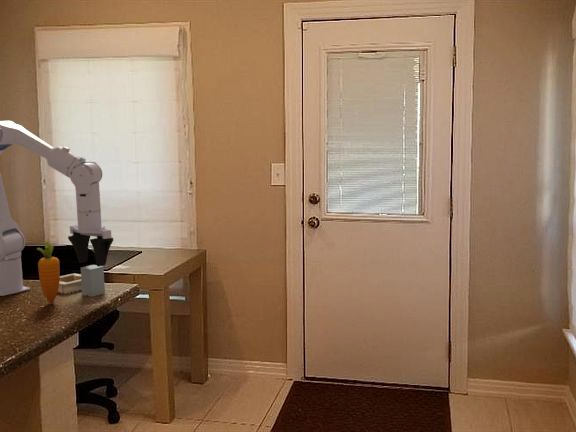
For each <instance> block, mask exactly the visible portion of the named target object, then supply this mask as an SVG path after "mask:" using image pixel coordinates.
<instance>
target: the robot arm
mask: <svg viewBox="0 0 576 432" xmlns="http://www.w3.org/2000/svg"><path fill="white" fill-rule="evenodd" d="M13 145H19V146H21V147H23V148H25V149H27V150H29V151H30V152H32V153H35V154H36V155H39V156H40V157H43V158H44V159H46V162H47V165H48V167H50V168H52V169H54V170H55V171H57V172H58V173H61V174H62V175H64V176H65V177H67V178H69V179H70V181H71V183H72V184H73V185H74V187H75V200H76V217H77V224H75V225H74V224H73V225H70V226H69V233H70V234H72V235H69V236H68V237H67V238H68V240H69V242H70V243H71V245H72V247H73V249H74V252H75V255H76V257H77V261H78V263H80V264H82V263H86V262H88V258H89V244H91V246H92V249H93V253H94V256H95V263H96V264H95V265H97V266H103V267H104V266H106V265H107V259H108V255H109V254H108V253H109V251H110V248H111V246H112V244H113V242H114V237H112V230H111V229H108V228H106V226H104V225H102V213H101V212H102V211H101V209H102V207H101V192H100V182H101V181H102V179H103V170H102V168H101V167H100V165H99V164H97V163H96V162H95V161H87V159H86V158H85V157H83V156H81V157H80V156H78V155H77V154H75V153H73V152H71V150H70V148H69V147H68V146H63V147H62V146H56V147H53V146H52V145H50V144H49V143H48V142H45V141H44V140H43V139H41V138H39V137H38V136H37V135H35V134H33V133H32V132H31V131H29V130H27V129H26V128H25V127H24V126H23V125H21V124H17V123H15V122H14V121H12V120H9V119H8V120H7V119H5V120H0V156H1V155H2V154H3V153H4V151H5V150H7V149H9V148H10V147H11V146H13ZM91 237H95V238H91ZM90 238H91V239H90ZM25 245H26V238H25V236H24V234H23V233H22V232H21V230H20V227H19V223H17V222H16V221H15V220H13V218H12V216H11V212H10V207H9V203H8V199H7V194H6V191H5V186H4V180H3V177H2V173H1V171H0V297H4V296H9V295H13V294H18V293H22V292H26V291H30V290H31V287H29V286H24V281H23V269H22V251H23V250H24V248H25V247H26V246H25Z"/></svg>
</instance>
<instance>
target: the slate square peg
mask: <svg viewBox="0 0 576 432" xmlns="http://www.w3.org/2000/svg"><path fill="white" fill-rule="evenodd" d="M80 274H81V283H82V290H81V294H82V295H83V294H85V295H84V296H87V295H89V296H88V297H91V296H93V297H95V296H96V295H97V296H100V294H101V295H103V294H106V289H105V286H106V285H105V269H104V266H97V264H90V265H86V266H83V267H80ZM97 296H96V297H97Z"/></svg>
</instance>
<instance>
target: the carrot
mask: <svg viewBox="0 0 576 432" xmlns="http://www.w3.org/2000/svg"><path fill="white" fill-rule="evenodd" d="M45 245H46V246H44V249H45V250H44V249H43V248H40V247H37V248H36V251H39V253H41V254H42V255H43V256H44V257H42V258H40V259H39V260H38V263H37V268H38V275H39V276H38V277H39V283H40V286H41V290H42V292H43V295H44V297H45V299H46V300H47V302H48V303H49V304H51V303H52V304H54V302H55V300H56V297H57V294H58V293H59V292H58V288H59V280H60V276H61V275H60V274H61V273H60V272H61V269H60V268H61V267H60V259H59V258H58V257H55V256H52V253H53V251H54V247H55V245H53V244H51V243H50V242H49V241H46V242H45Z"/></svg>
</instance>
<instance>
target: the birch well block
mask: <svg viewBox="0 0 576 432" xmlns="http://www.w3.org/2000/svg"><path fill="white" fill-rule="evenodd" d="M79 290H81V291H82V283H81V273H75V272H74V273H70V274H65V275H60V280H59V288H58V292H57V293H59V292H60V293H59V294H63V293H64V294H63V295H68V294H72V293H75V292H74V291H76V292H80V291H79ZM71 292H72V293H71ZM67 293H68V294H67Z"/></svg>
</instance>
